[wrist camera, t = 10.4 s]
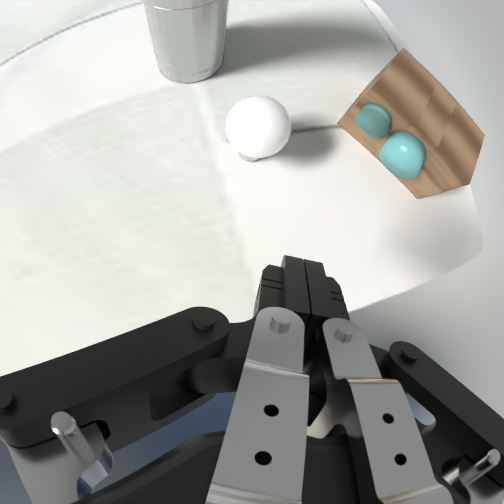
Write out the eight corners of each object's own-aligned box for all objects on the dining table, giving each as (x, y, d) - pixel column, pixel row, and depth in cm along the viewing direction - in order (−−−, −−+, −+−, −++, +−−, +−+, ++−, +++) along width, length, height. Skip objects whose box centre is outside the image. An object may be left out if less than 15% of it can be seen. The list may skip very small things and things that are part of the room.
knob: (401, 183, 33) (426, 173, 27) (371, 154, 32) (394, 140, 27) (435, 115, 34) (457, 102, 29) (411, 91, 34) (431, 75, 28)
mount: (412, 208, 38) (465, 194, 27) (330, 131, 36) (368, 92, 25) (438, 155, 39) (484, 135, 28) (367, 85, 37) (403, 48, 26)
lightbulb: (222, 130, 34) (227, 81, 23) (273, 131, 35) (295, 85, 24) (222, 178, 34) (227, 142, 23) (275, 178, 35) (301, 145, 24)
